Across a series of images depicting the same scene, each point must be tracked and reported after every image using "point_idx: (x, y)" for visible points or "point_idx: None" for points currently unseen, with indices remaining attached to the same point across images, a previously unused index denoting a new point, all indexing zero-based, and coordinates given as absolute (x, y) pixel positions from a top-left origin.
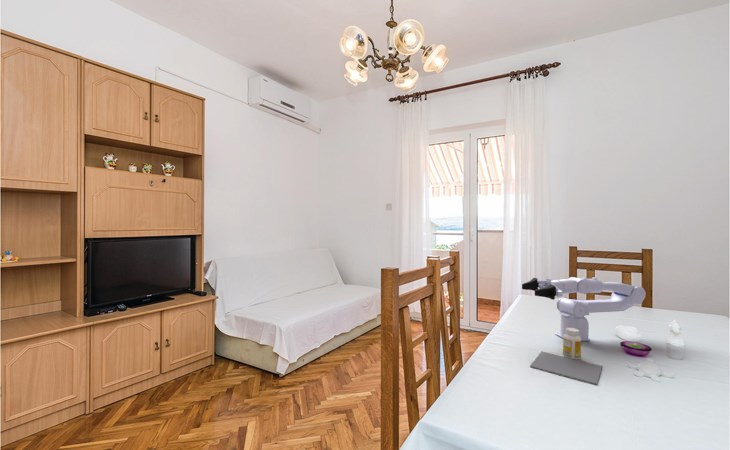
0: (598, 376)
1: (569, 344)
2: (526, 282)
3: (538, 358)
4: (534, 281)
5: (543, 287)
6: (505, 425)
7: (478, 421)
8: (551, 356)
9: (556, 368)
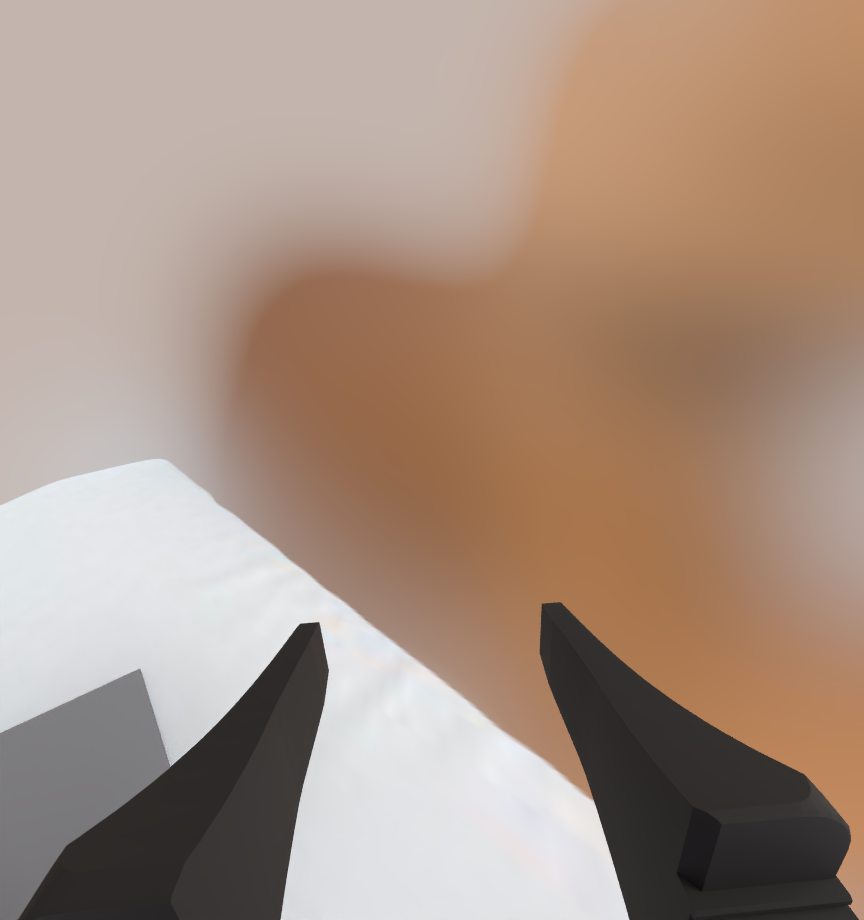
0: None
1: None
2: (594, 638)
3: (152, 754)
4: (641, 759)
5: None
6: (53, 504)
7: (100, 487)
8: None
9: (23, 763)
